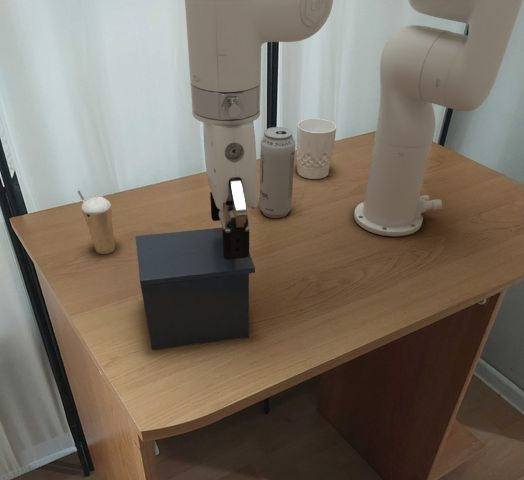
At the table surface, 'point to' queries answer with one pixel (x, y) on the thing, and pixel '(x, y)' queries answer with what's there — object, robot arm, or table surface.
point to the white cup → (315, 147)
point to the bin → (197, 311)
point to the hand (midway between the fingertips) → (229, 237)
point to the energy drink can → (276, 171)
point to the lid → (187, 256)
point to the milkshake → (99, 223)
